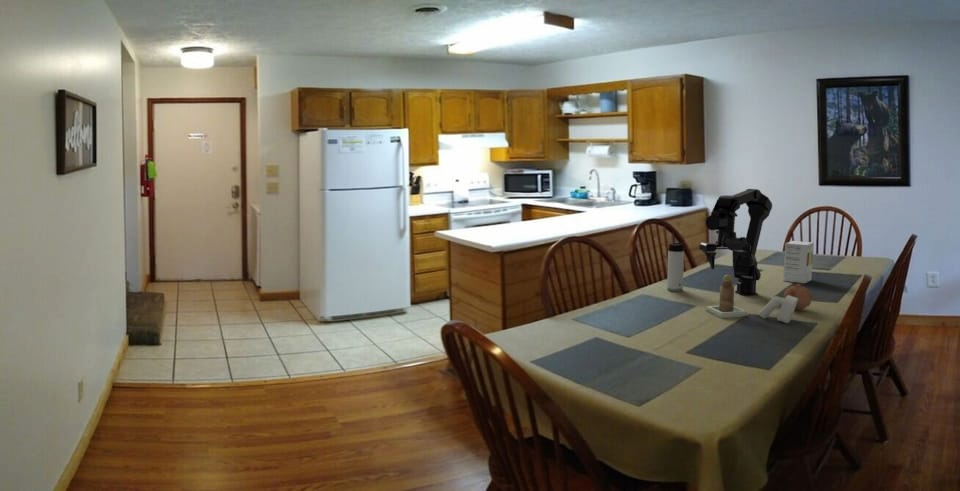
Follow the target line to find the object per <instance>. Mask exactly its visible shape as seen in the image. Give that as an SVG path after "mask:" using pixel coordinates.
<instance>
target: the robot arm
mask: <svg viewBox="0 0 960 491" xmlns="http://www.w3.org/2000/svg"><path fill="white" fill-rule="evenodd" d="M744 204H745V205H746V207H748V208H747V209H748V210H747V213H748V216H749V218H750V220H749V224H748V228H747V232H746V236H742V237H741V236H740V237H737V232H736V231H735V221H736V218H737V217H738V213H736V212H737V211H738V210H739V209H740V208H741V206H742V205H744ZM772 209H773V203H772V201H771V200H770V198H769V196H767V195H766V194H764V193H762V191H761V190H760V189H755V188H748V189H745V190H743V191H741V192H738V193H735V194H733V195H732V194H731V195H719V196H718V199H717V200H716V202H715V204H714V206H713V209H712V211H711V213H710V215H709V216H707V218H706V220H705V226H706V228H707V229H708V230H709V231H715V233H716V234H717V240H715V243H713V242H700V244H699V246H698V248H699V250H700V251H702V253H704V255H705V256H706V258H707V261H708V262H709V266H710V268H711V270H715V263H716V262H715V260H716V255H717V252H716V251H717V250H729V251H732V268H733V274H734V275H733V276H734V278H735V279H737V282H736V290H734V293H736V294H739V295H742V296H754V295H759V293H758V292H757V281H760V279H761V276H762V275H761V274H762V273H761V272H760V270H759V268H758V261H757V257H756V253H757V248H758V245H759V240H760V237H761V232H762V227H763V222H765V220H766V219H768V217H770V214H771V211H772Z"/></svg>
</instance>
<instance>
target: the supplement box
mask: <svg viewBox="0 0 960 491" xmlns="http://www.w3.org/2000/svg"><path fill="white" fill-rule="evenodd" d="M814 244H815V243H814V242H811V241H801V240H800V241H799V240H791V241H788V242H785V244H784V263H783V277H782V278H783V279H782V280H783V281H784V282H791V283H797V284H798V283H799V284H807V283H808V282H811V281H812V276H813V275H812V273H813V259H814Z"/></svg>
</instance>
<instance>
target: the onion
mask: <svg viewBox="0 0 960 491" xmlns="http://www.w3.org/2000/svg"><path fill="white" fill-rule="evenodd" d="M788 295H789V296H792V297H795V298H798V301H797V304H796V307H795V310H794V311H801V310H805V309H806V308H808V307H810V306H811V303H812V300H813V296H812V294H811V292H810V290H809V289H808V288H806V287H804V286H803V285H802V283H798V282H797V283H796V284H793V285H791V286H789V287H788V288H787V289H785V291H784V293H783V300H784V299H785V298H786V297H787V296H788Z"/></svg>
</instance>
